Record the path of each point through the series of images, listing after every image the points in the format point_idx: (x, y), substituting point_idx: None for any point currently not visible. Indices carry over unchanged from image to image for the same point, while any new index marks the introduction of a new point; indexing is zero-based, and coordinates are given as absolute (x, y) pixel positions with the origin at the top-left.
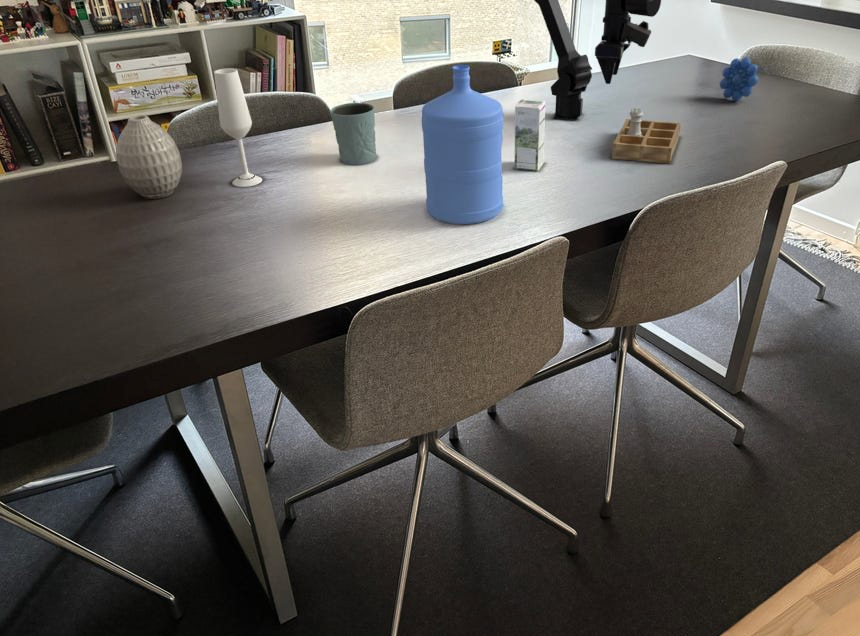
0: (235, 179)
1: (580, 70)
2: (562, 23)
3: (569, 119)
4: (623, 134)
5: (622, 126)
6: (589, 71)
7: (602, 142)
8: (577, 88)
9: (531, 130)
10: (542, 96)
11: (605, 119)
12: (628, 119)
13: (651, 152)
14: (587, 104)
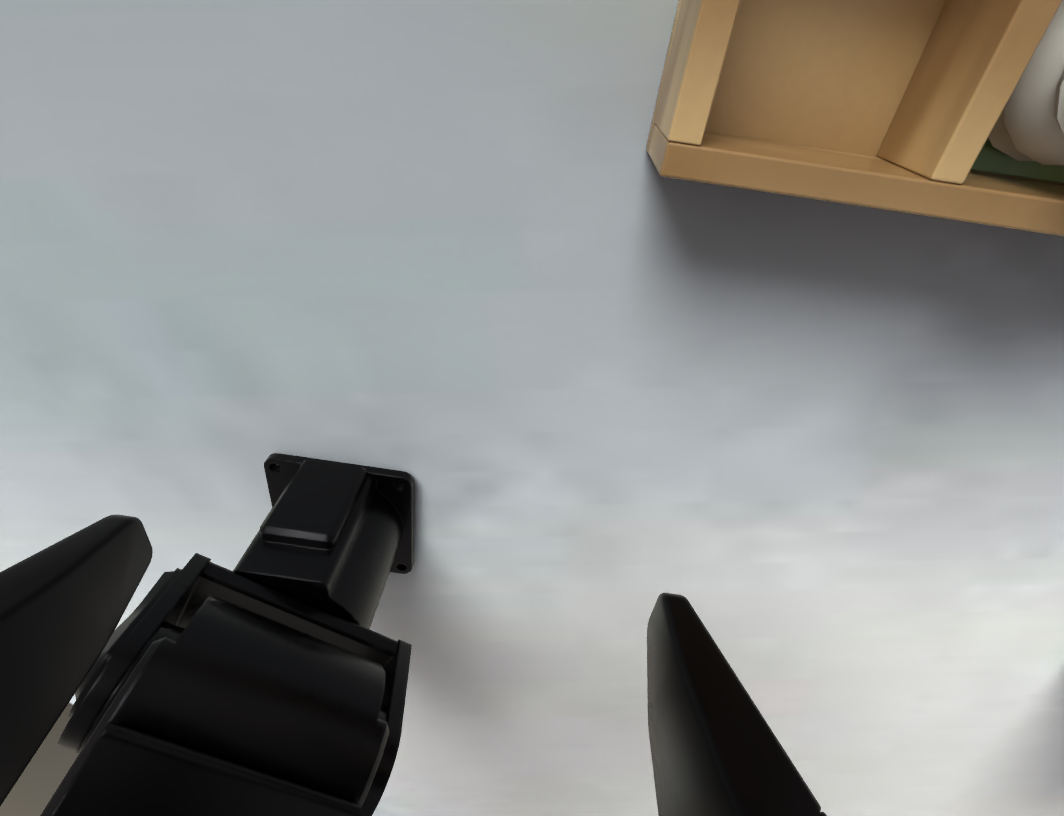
0: None
1: (279, 809)
2: None
3: (413, 506)
4: (1009, 185)
5: (915, 213)
6: (143, 715)
7: (863, 319)
8: (329, 645)
9: None
10: None
11: (323, 311)
12: (679, 154)
13: None
14: (53, 423)
